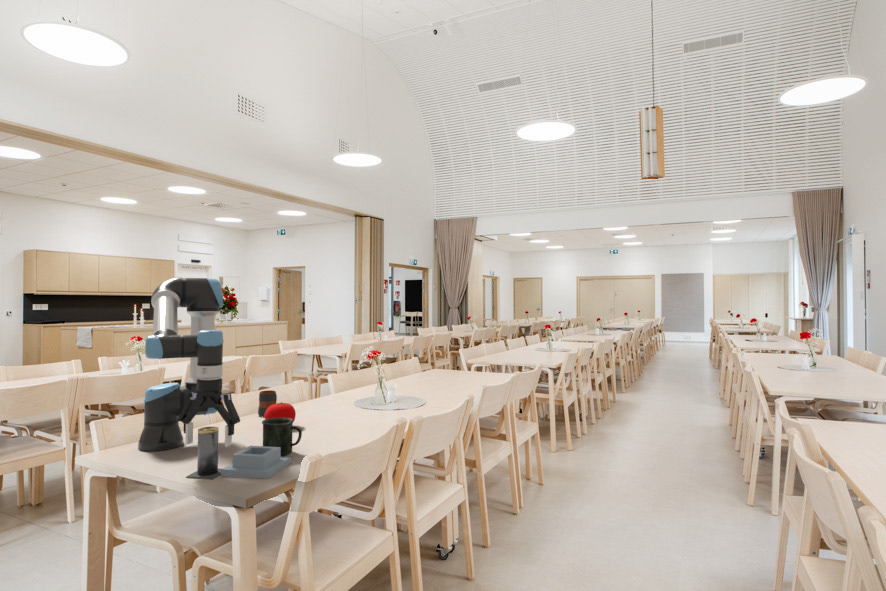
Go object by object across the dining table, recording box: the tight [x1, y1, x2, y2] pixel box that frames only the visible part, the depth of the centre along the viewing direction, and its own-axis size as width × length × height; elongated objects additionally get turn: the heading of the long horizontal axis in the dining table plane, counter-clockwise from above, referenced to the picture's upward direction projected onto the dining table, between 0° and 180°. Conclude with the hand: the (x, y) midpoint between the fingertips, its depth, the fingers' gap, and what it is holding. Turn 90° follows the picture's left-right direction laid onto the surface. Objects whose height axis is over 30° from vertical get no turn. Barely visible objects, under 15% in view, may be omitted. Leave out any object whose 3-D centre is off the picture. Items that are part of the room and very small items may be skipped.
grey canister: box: [196, 426, 219, 476], centre depth 164 cm, size 6×6×14 cm
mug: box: [261, 418, 303, 457], centre depth 187 cm, size 11×15×12 cm
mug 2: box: [257, 389, 278, 417], centre depth 252 cm, size 9×12×12 cm
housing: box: [220, 445, 292, 480], centre depth 169 cm, size 16×16×6 cm
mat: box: [185, 467, 222, 480], centre depth 164 cm, size 9×9×1 cm
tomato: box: [263, 401, 296, 421], centre depth 227 cm, size 12×13×11 cm
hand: (208, 444), depth 164 cm, fingers open, 13 cm apart
